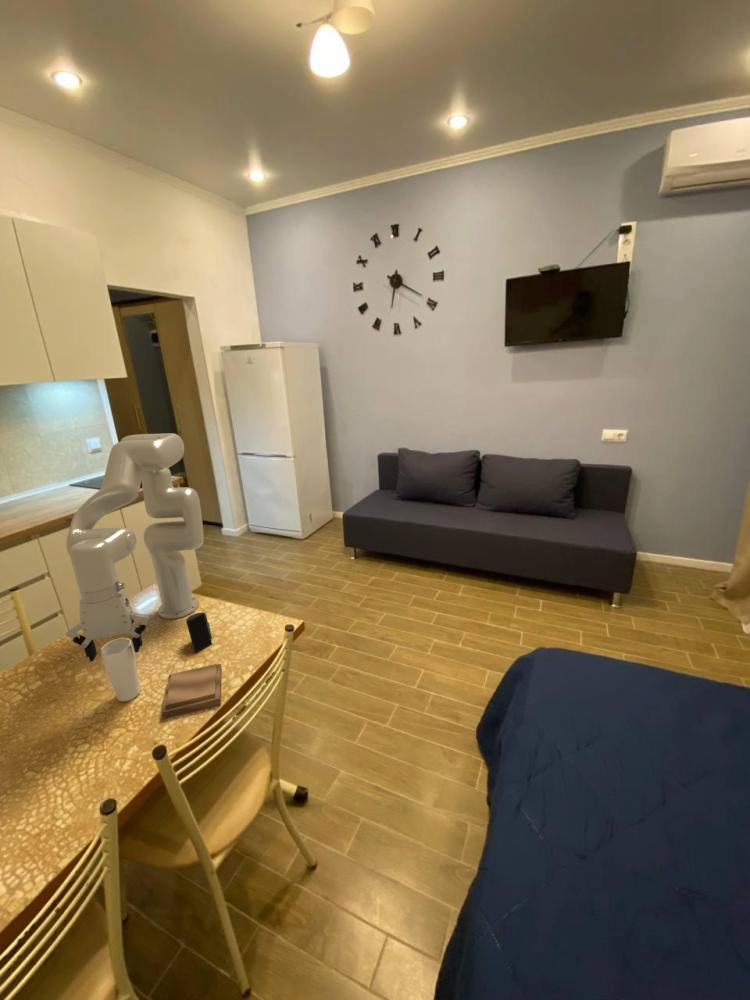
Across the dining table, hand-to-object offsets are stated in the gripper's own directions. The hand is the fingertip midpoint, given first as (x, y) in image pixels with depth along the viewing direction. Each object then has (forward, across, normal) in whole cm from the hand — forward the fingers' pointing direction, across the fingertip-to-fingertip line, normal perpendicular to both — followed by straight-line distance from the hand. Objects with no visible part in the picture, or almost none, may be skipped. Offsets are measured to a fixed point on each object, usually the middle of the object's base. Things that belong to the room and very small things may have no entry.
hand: (116, 653), depth 103 cm
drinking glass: (+14, 0, -1) cm, 14 cm away
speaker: (+13, -16, -17) cm, 27 cm away
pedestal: (+13, -16, +4) cm, 21 cm away
